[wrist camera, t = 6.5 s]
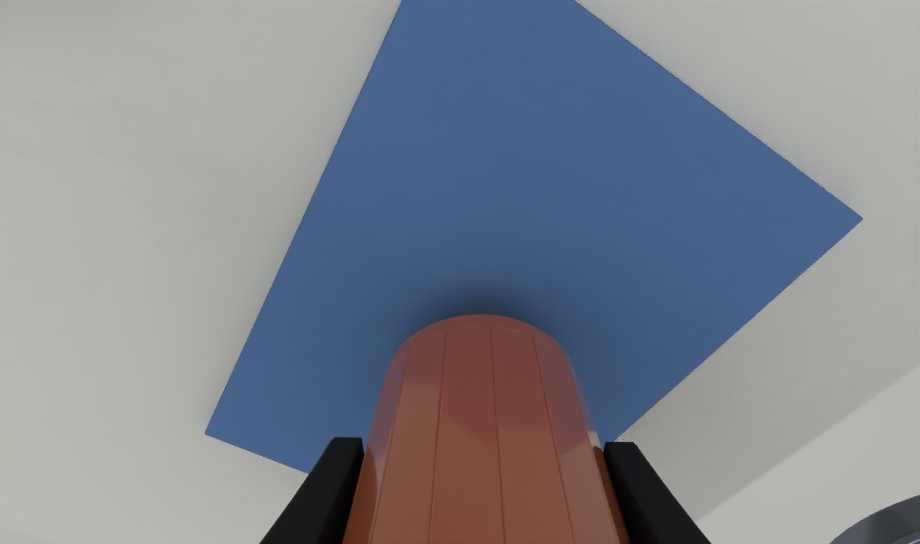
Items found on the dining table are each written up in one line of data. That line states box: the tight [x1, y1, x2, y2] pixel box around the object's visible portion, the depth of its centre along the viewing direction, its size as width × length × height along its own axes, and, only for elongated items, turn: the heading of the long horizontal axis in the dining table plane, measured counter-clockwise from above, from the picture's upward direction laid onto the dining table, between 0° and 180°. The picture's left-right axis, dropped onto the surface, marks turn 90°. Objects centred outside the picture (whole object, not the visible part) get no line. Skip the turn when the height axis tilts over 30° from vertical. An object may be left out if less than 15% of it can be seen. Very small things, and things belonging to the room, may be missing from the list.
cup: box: [342, 314, 631, 544], centre depth 9 cm, size 5×5×8 cm
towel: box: [205, 0, 863, 474], centre depth 14 cm, size 18×13×1 cm
